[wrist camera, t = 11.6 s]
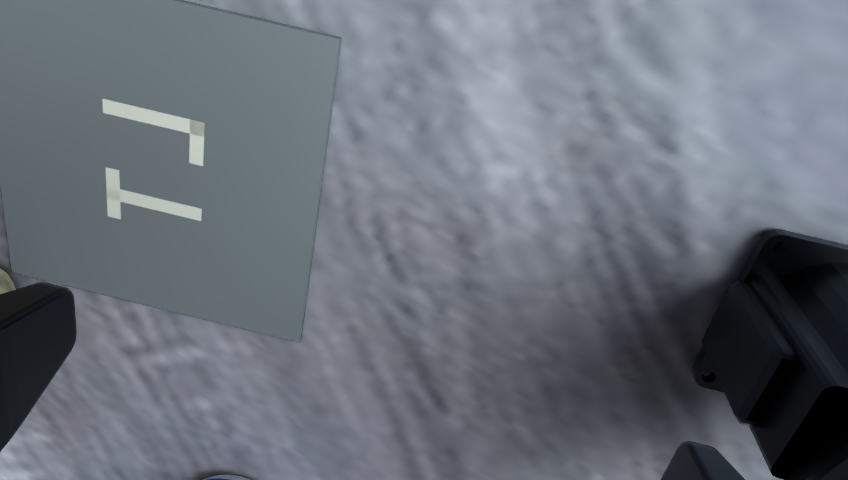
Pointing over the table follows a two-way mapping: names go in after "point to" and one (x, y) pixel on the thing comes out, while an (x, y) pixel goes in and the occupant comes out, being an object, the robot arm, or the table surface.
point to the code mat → (165, 154)
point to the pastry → (5, 282)
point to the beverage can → (226, 477)
